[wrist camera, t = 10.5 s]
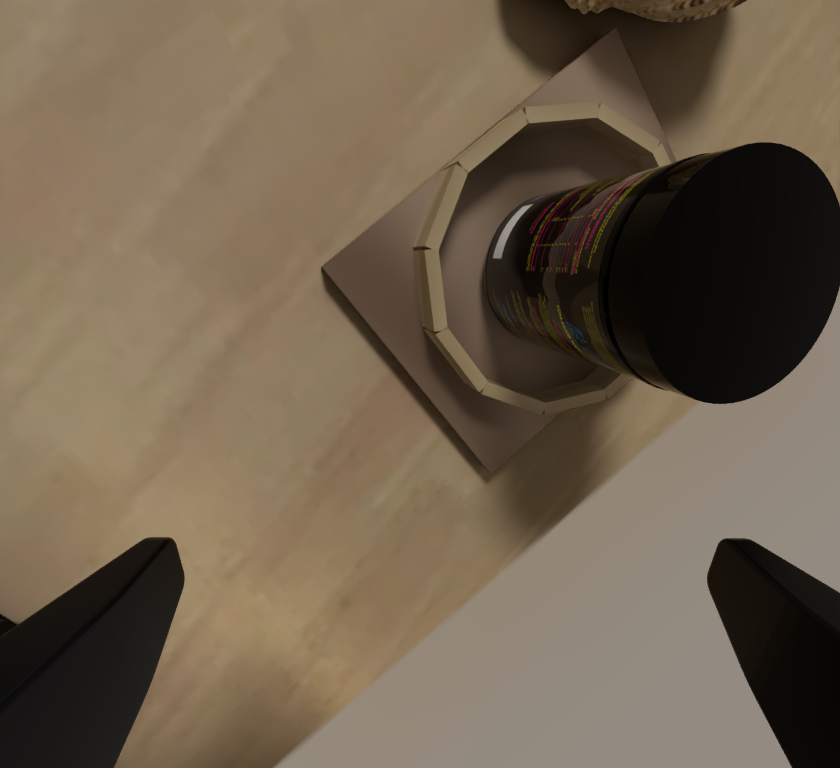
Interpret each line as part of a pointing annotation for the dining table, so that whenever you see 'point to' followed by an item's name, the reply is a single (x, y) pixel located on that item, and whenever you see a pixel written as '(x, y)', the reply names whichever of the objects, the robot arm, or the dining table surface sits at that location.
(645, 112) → the collar board
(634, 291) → the supplement container
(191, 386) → the dining table surface
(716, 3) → the seashell
